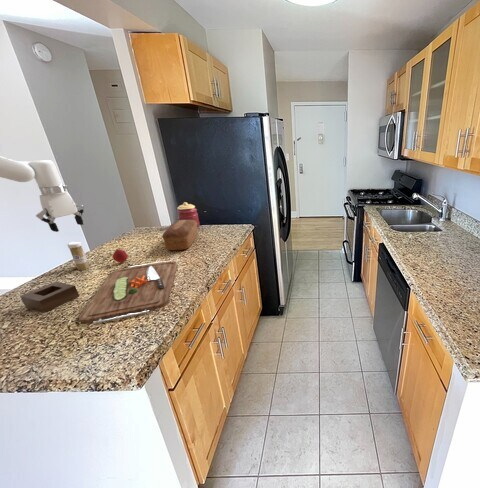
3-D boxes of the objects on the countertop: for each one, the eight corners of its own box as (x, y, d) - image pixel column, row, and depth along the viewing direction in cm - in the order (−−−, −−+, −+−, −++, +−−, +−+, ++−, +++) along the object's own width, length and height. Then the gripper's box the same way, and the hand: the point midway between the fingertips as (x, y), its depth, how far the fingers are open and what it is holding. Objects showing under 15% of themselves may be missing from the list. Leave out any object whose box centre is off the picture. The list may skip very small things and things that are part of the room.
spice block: (25, 307, 97) (19, 296, 95) (61, 291, 106) (56, 281, 105) (45, 312, 94) (39, 301, 92) (79, 296, 103) (74, 285, 102)
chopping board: (115, 270, 124) (113, 264, 123) (178, 260, 133) (177, 255, 132) (73, 329, 85) (69, 321, 84) (165, 310, 95) (163, 303, 94)
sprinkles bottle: (77, 271, 123) (66, 245, 118) (78, 267, 126) (67, 242, 121) (89, 268, 125) (79, 243, 120) (90, 265, 129) (80, 240, 124)
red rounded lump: (128, 259, 135) (123, 245, 132) (130, 262, 131) (125, 248, 128) (114, 262, 131) (109, 248, 128) (116, 266, 128) (111, 251, 125)
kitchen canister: (204, 224, 189) (199, 201, 182) (189, 230, 178) (183, 205, 171) (191, 222, 194) (186, 199, 187) (175, 227, 183) (170, 203, 176)
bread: (201, 234, 171) (198, 216, 166) (190, 250, 145) (185, 230, 140) (178, 235, 168) (174, 217, 163) (163, 253, 142) (157, 232, 138)
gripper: (70, 186, 120) (84, 221, 127) (20, 194, 105) (39, 233, 112) (81, 187, 118) (94, 222, 125) (32, 194, 103) (50, 235, 110)
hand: (68, 227), depth 118 cm, fingers open, 9 cm apart
